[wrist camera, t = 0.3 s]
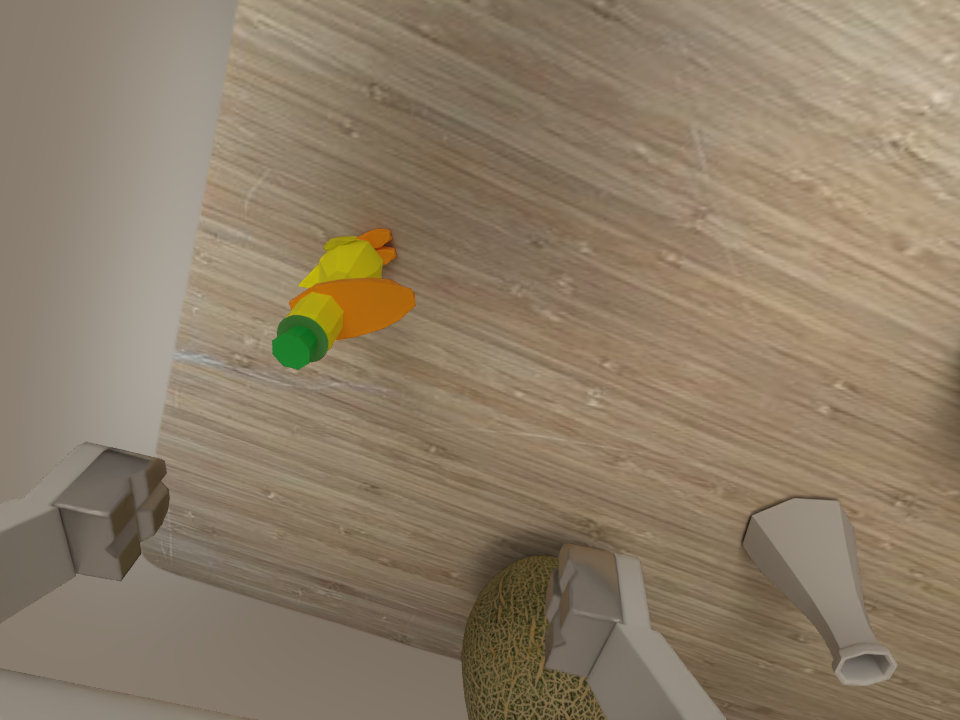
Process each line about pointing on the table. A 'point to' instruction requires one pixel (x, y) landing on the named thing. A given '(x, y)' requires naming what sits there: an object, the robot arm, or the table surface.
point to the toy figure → (342, 299)
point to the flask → (821, 581)
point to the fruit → (518, 653)
